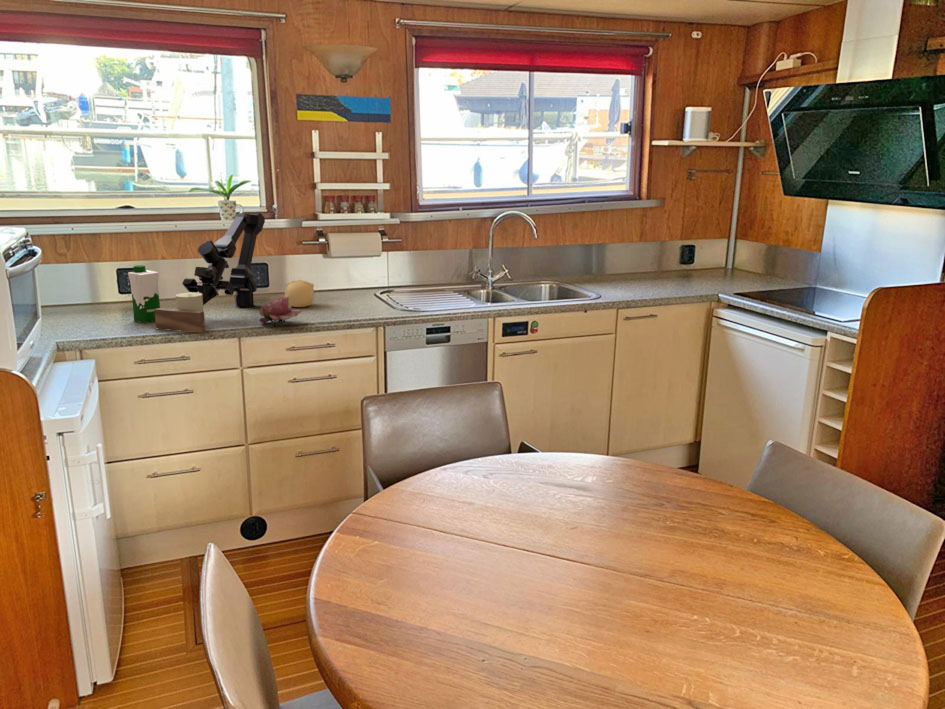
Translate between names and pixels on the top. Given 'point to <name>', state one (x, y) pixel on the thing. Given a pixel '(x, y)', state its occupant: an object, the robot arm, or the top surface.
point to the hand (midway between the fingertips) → (200, 305)
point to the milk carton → (144, 293)
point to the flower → (278, 311)
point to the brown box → (180, 320)
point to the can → (189, 301)
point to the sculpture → (299, 293)
